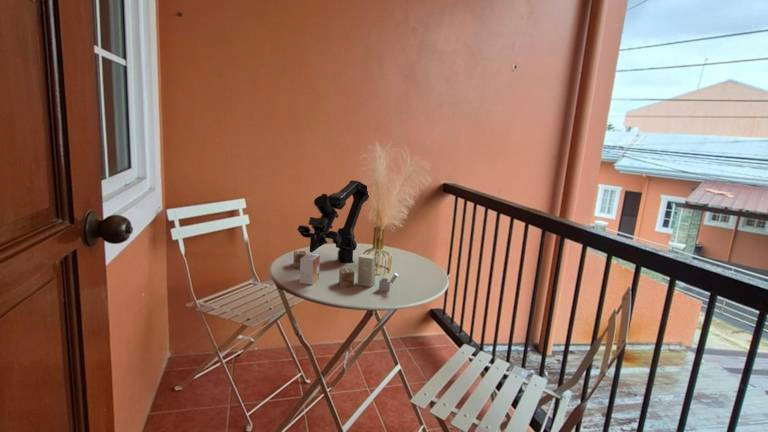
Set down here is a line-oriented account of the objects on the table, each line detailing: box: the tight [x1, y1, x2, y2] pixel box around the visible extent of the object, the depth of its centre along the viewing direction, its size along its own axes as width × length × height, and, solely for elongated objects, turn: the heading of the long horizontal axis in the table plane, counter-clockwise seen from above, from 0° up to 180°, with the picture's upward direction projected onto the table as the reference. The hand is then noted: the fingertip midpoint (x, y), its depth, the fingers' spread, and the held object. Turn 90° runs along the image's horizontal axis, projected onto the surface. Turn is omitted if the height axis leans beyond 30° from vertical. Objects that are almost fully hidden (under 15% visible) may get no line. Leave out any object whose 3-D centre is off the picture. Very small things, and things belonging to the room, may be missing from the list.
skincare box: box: [357, 253, 377, 288], centre depth 161 cm, size 6×4×12 cm
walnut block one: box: [338, 267, 355, 288], centre depth 160 cm, size 5×5×6 cm
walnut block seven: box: [293, 250, 307, 269], centre depth 177 cm, size 5×5×6 cm
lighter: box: [378, 272, 399, 293], centre depth 157 cm, size 7×2×8 cm, turn 75°
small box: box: [299, 252, 321, 285], centre depth 161 cm, size 8×6×10 cm
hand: (310, 251), depth 159 cm, fingers closed
